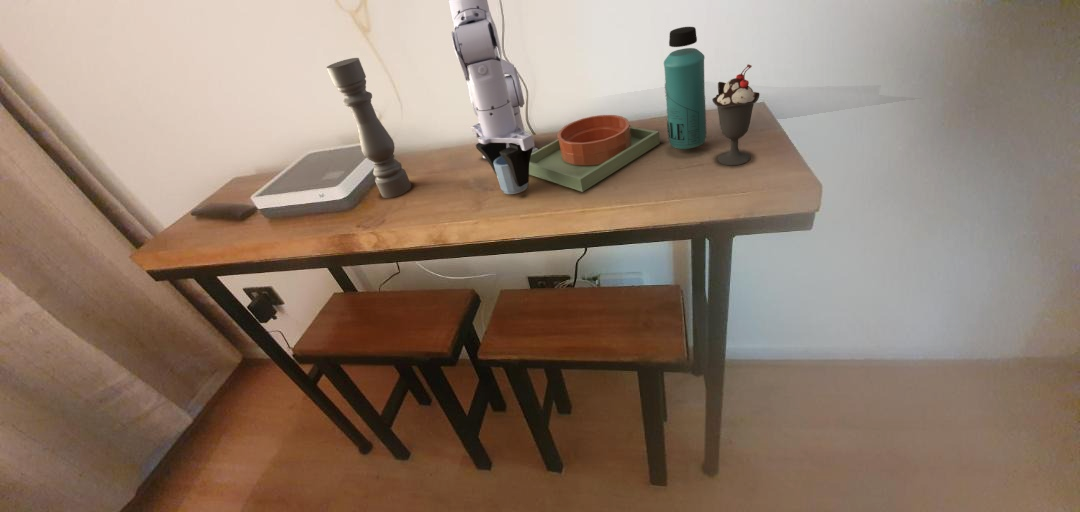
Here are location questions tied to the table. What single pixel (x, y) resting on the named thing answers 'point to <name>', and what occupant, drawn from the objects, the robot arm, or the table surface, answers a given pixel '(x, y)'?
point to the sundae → (735, 115)
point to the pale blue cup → (506, 177)
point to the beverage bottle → (685, 91)
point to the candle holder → (369, 127)
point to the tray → (583, 177)
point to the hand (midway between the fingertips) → (513, 180)
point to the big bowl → (594, 139)
